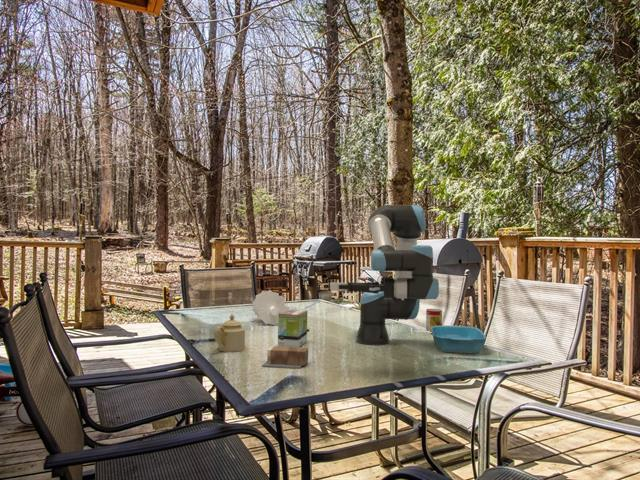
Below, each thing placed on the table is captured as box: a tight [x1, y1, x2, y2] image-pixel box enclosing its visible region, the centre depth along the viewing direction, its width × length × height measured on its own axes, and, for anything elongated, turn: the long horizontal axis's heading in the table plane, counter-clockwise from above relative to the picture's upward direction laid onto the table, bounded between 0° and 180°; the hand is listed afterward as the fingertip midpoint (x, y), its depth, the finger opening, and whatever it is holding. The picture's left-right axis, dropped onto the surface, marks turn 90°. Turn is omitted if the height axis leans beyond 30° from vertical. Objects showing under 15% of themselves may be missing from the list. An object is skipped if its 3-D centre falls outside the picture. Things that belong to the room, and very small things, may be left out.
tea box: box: [277, 309, 308, 347], centre depth 212 cm, size 15×10×15 cm, turn 168°
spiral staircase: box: [252, 289, 290, 326], centre depth 268 cm, size 18×18×25 cm
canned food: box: [425, 308, 443, 332], centre depth 242 cm, size 8×8×12 cm
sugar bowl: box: [213, 313, 246, 353], centre depth 198 cm, size 15×11×15 cm
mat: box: [261, 361, 303, 370], centre depth 177 cm, size 14×12×1 cm
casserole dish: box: [431, 324, 487, 354], centre depth 211 cm, size 37×22×7 cm, turn 170°
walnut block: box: [266, 345, 309, 367], centre depth 177 cm, size 5×7×14 cm
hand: (330, 286), depth 175 cm, fingers closed
